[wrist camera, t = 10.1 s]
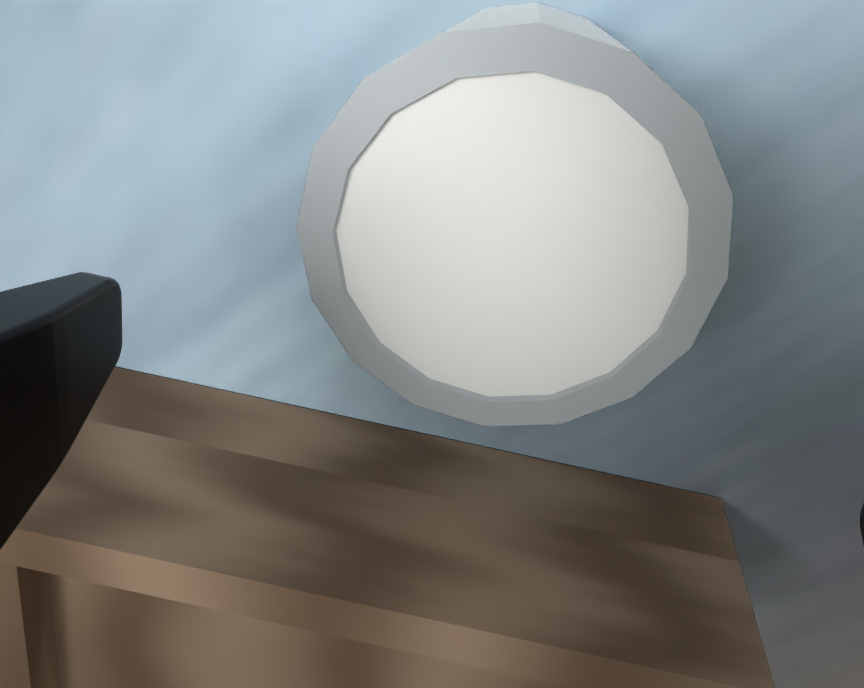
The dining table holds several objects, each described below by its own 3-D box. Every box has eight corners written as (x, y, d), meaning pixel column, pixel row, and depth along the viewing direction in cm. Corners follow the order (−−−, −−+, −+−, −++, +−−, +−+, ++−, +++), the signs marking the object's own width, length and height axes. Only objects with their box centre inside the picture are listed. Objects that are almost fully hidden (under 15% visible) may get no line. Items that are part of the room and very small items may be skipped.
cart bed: (65, 662, 31) (-41, 839, 25) (40, 350, 24) (-117, 499, 18) (587, 778, 30) (597, 981, 25) (721, 498, 23) (777, 695, 18)
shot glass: (568, 313, 21) (578, 490, 15) (327, 187, 20) (234, 321, 14) (738, 70, 18) (839, 173, 12) (458, -95, 17) (409, -77, 11)
